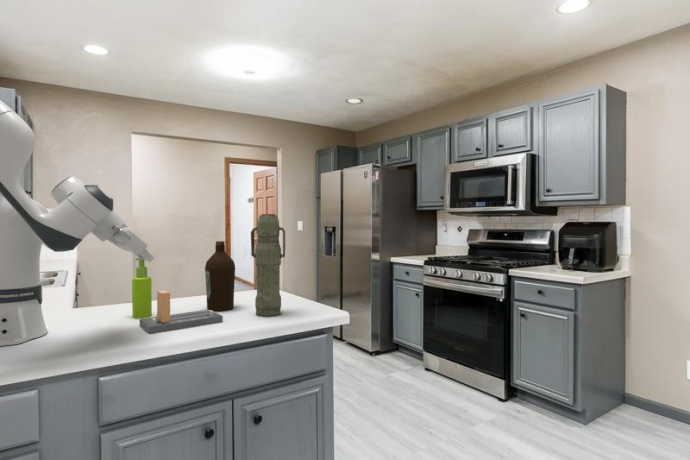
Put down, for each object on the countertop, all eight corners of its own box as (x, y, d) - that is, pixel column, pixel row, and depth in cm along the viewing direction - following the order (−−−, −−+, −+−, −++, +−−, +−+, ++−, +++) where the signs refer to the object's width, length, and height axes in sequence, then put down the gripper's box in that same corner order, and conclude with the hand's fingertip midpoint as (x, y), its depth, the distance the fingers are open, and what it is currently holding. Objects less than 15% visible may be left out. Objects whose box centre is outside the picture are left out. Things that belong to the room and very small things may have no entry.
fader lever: (161, 322, 124) (161, 293, 123) (157, 319, 128) (156, 290, 127) (170, 321, 125) (170, 292, 125) (165, 318, 129) (165, 289, 129)
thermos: (251, 311, 149) (251, 214, 148) (285, 310, 151) (285, 214, 150) (249, 317, 140) (249, 213, 139) (285, 316, 142) (285, 214, 141)
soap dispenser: (146, 318, 138) (146, 258, 137) (128, 317, 139) (127, 258, 139) (158, 314, 144) (157, 257, 143) (140, 313, 145) (139, 256, 144)
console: (149, 333, 120) (149, 321, 120) (139, 325, 130) (139, 313, 129) (222, 322, 134) (222, 310, 134) (208, 315, 143) (208, 304, 143)
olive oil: (234, 305, 160) (233, 240, 159) (236, 311, 150) (236, 241, 149) (205, 306, 156) (204, 240, 156) (205, 313, 146) (205, 242, 146)
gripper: (126, 218, 110) (166, 253, 116) (112, 218, 126) (147, 248, 132) (107, 235, 107) (149, 270, 114) (95, 233, 123) (132, 263, 130)
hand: (147, 258), depth 123 cm, fingers open, 7 cm apart
